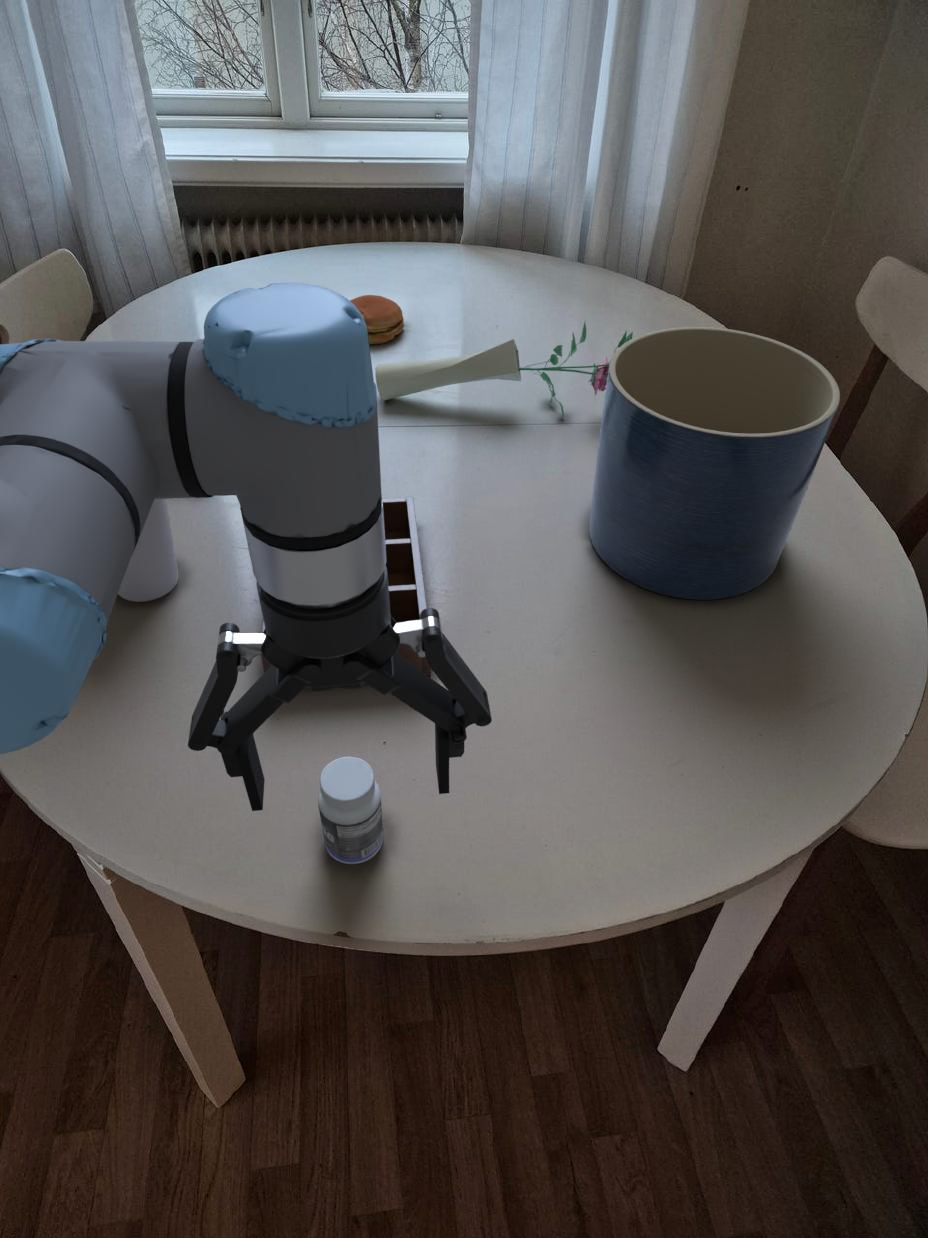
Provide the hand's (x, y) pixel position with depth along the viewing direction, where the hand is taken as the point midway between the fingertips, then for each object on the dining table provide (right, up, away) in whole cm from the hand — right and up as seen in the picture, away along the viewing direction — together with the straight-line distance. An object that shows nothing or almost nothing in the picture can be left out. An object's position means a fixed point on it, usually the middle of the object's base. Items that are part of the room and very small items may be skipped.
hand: (351, 787), depth 64 cm
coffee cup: (-25, +16, +27) cm, 40 cm away
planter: (+33, +21, +34) cm, 52 cm away
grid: (-4, +14, +25) cm, 29 cm away
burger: (-6, +57, +71) cm, 91 cm away
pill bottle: (0, -5, +5) cm, 7 cm away
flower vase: (+14, +42, +55) cm, 70 cm away
